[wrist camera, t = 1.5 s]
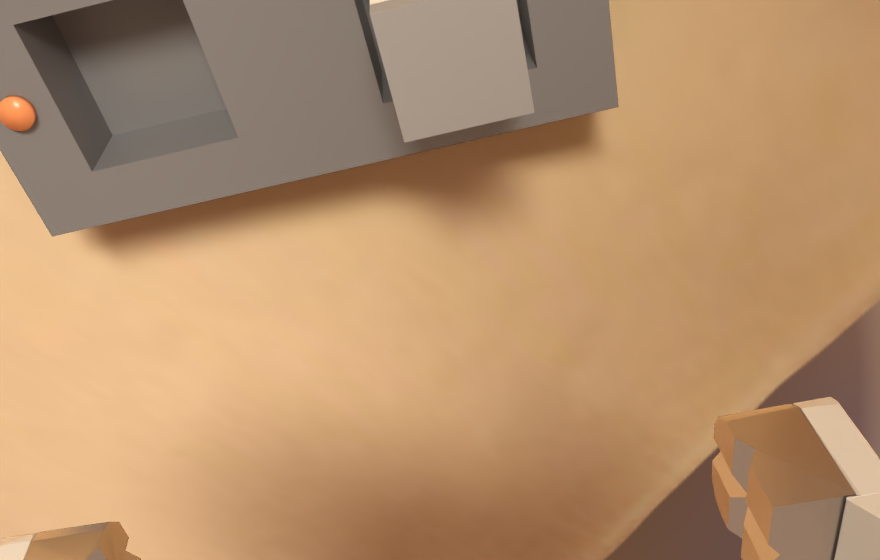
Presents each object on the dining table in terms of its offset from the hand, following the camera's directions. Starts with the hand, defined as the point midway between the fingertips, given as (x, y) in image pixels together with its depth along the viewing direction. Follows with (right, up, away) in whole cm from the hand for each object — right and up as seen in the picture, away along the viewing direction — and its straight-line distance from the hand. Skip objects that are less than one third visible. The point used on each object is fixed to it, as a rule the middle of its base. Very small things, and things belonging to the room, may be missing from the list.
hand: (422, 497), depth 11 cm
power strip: (-5, +13, +20) cm, 24 cm away
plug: (0, +14, +19) cm, 23 cm away
